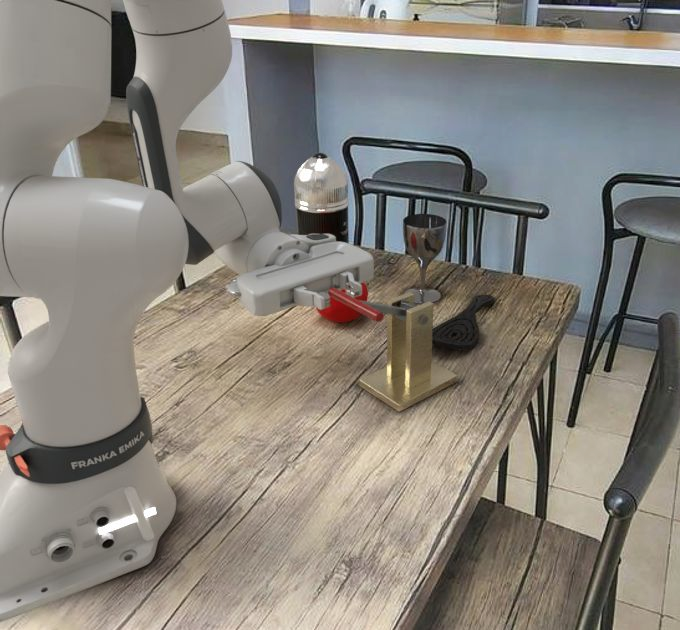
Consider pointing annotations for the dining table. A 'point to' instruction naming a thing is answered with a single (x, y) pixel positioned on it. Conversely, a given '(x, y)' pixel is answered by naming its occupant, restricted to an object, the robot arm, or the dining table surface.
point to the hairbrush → (461, 326)
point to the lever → (371, 306)
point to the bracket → (408, 359)
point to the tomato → (343, 308)
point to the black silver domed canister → (321, 198)
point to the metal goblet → (424, 248)
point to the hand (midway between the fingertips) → (342, 297)
